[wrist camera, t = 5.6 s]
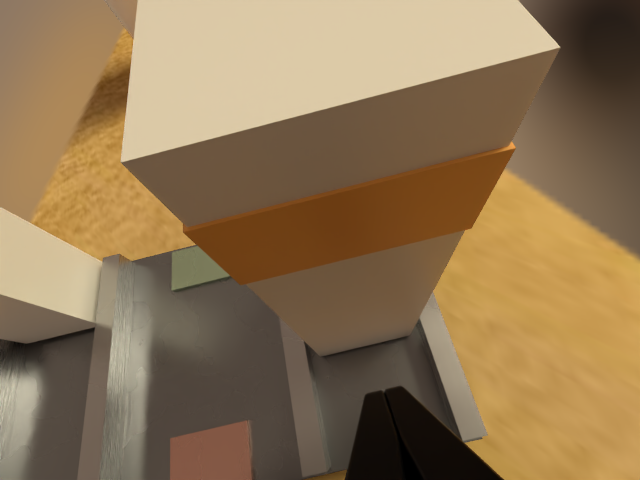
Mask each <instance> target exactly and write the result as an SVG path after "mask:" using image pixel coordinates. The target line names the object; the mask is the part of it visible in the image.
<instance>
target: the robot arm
mask: <svg viewBox="0 0 640 480" xmlns="http://www.w3.org/2000/svg"><path fill="white" fill-rule="evenodd" d="M345 480H504V479H503V478H502V477H500V476H499V475H498V474H497V473H496V472H495V471H494V470H493V469H492V468H491V467H490V466H489V465H488V464H486V463H485V462H484V461H483V460H482V459H481V458H480V457H479V456H478V455H477V454H476V453H475V452H474V451H472V450H471V449H470V448H469V447H468V446H467V445H466V444H465V443H464V442H463V441H462V440H461V439H460V438H458V437H457V436H456V435H455V434H454V433H453V432H452V431H451V430H450V429H449V428H448V427H447V426H446V425H444V424H443V423H442V422H441V421H440V420H439V419H438V418H437V417H436V416H435V415H434V414H433V413H432V412H430V411H429V410H428V409H427V408H426V407H425V406H424V405H423V404H422V403H421V402H420V401H419V400H418V399H416V398H415V397H414V396H413V395H412V394H411V393H410V392H409V391H408V390H407V389H406V388H405V387H403V386H396V387H391V388H387V389H385V391H384V392H383V391H382V390H378V391H374V392H370V393H366V394H365V396H364V400H363V404H362V408H361V413H360V417H359V421H358V426H357V430H356V434H355V438H354V443H353V447H352V451H351V456H350V460H349V464H348V468H347V473H346V477H345Z"/></svg>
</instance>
